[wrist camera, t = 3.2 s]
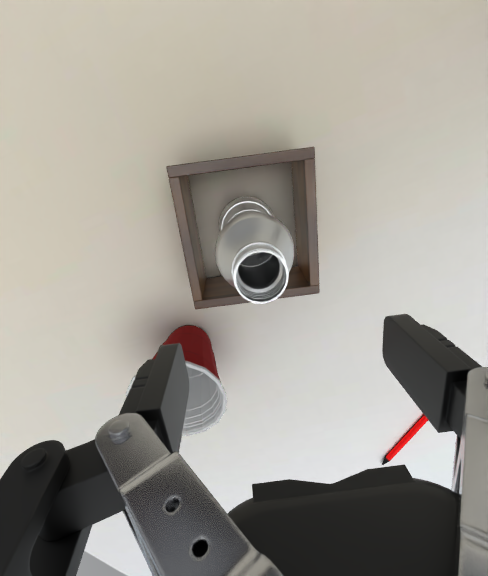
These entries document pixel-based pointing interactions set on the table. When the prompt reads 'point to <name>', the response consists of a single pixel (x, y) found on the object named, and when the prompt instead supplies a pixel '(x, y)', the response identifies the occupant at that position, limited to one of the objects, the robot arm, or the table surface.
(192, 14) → the table surface
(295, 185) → the wooden box
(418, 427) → the pen
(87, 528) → the robot arm
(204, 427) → the plastic cup
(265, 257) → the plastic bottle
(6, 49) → the table surface
